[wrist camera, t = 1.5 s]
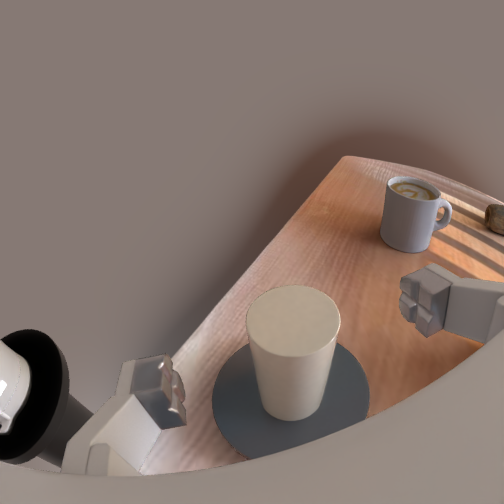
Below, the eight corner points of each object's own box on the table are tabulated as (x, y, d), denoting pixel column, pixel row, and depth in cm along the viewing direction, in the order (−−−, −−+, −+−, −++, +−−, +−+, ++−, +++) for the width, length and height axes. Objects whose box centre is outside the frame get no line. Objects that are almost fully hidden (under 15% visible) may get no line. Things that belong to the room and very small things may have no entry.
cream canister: (283, 433, 22) (282, 375, 15) (247, 386, 27) (228, 310, 20) (336, 396, 25) (359, 321, 18) (297, 356, 29) (300, 272, 22)
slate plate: (269, 499, 18) (268, 498, 17) (191, 382, 30) (186, 374, 29) (394, 404, 24) (400, 397, 23) (304, 319, 36) (304, 310, 35)
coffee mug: (378, 247, 46) (386, 194, 40) (381, 219, 53) (387, 172, 47) (448, 260, 41) (463, 209, 35) (441, 230, 48) (452, 185, 42)
